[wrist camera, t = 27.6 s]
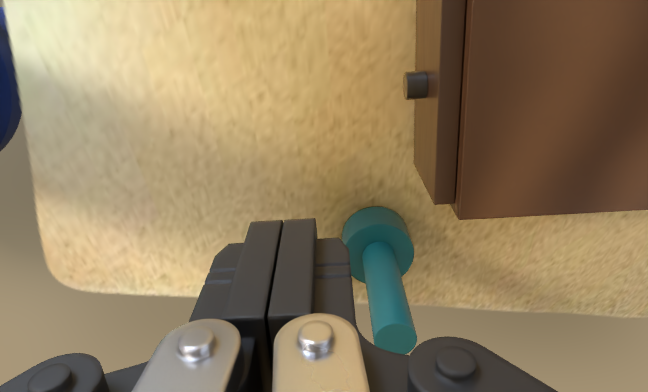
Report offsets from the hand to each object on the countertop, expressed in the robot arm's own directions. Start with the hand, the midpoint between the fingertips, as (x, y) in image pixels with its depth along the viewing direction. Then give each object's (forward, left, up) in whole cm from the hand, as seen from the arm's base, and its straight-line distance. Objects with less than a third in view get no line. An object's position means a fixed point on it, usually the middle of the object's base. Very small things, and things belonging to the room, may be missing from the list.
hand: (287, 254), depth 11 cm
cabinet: (+16, 0, -23) cm, 28 cm away
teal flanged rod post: (+4, -12, -23) cm, 26 cm away
